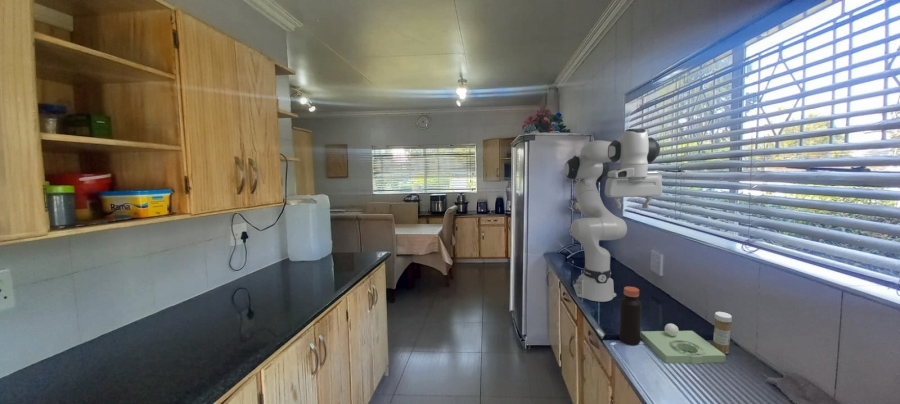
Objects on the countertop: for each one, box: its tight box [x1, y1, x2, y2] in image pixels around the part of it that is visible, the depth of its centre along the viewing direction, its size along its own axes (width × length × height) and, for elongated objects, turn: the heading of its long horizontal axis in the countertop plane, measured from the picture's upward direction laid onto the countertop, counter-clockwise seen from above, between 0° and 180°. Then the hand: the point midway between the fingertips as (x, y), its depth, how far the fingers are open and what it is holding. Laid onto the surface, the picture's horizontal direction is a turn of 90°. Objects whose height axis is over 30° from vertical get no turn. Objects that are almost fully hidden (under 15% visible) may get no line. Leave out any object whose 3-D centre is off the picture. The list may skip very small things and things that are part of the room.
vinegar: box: [618, 286, 643, 346], centre depth 124 cm, size 7×7×20 cm
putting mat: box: [640, 330, 727, 365], centre depth 119 cm, size 16×19×2 cm
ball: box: [664, 323, 680, 336], centre depth 123 cm, size 4×4×4 cm
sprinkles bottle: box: [712, 311, 733, 355], centre depth 116 cm, size 5×5×14 cm
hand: (632, 208), depth 129 cm, fingers open, 8 cm apart
